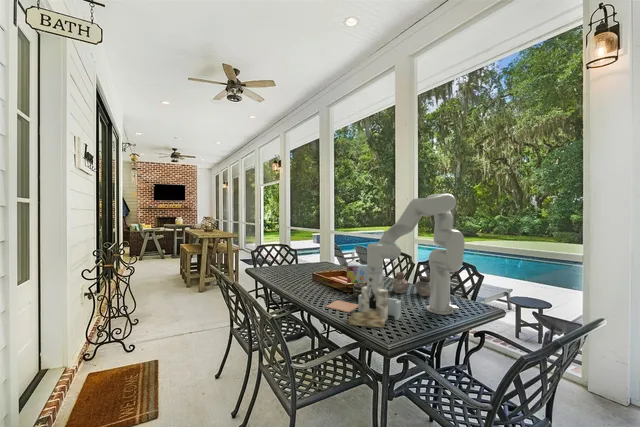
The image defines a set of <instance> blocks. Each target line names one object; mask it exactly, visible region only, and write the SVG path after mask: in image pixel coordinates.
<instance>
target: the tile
mask: <svg viewBox="0 0 640 427" xmlns="http://www.w3.org/2000/svg"><path fill="white" fill-rule="evenodd" d="M325 308H327V309H331V310H335V309H336V310H335V311H339V310H340V312H345V313H349V314H350V313H351V312H353V311H354V310H356V309H358V304H357V303H352V302H348V301H343V300H335V301H333V302H331V303H329V304H327V305H326V306H325Z"/></svg>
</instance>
